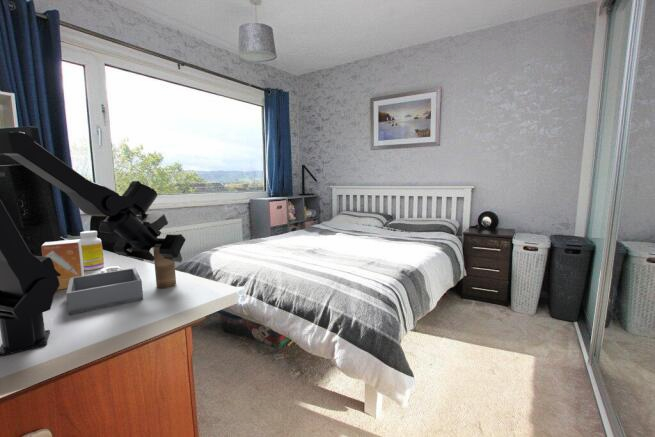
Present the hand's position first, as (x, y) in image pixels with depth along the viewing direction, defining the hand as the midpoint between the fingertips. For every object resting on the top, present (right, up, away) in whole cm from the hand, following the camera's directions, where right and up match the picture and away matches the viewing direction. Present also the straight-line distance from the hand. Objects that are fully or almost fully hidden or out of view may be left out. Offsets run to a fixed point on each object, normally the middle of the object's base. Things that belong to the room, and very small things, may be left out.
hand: (167, 260), depth 90 cm
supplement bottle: (-36, -5, +19) cm, 41 cm away
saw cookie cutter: (-24, -7, +13) cm, 28 cm away
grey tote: (-11, -8, -9) cm, 16 cm away
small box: (-29, -8, +1) cm, 30 cm away
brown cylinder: (0, -7, 0) cm, 7 cm away
